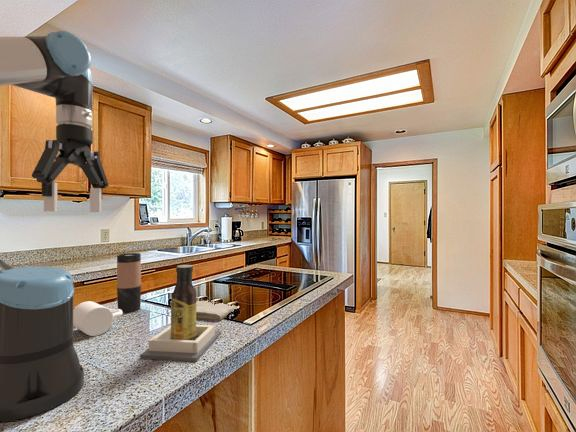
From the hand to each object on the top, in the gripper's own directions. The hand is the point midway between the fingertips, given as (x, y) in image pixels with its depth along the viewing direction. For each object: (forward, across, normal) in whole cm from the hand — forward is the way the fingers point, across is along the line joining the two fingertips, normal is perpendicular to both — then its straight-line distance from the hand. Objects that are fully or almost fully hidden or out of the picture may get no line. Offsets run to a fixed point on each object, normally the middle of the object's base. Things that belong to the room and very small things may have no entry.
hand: (75, 212), depth 75 cm
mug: (+35, +14, +5) cm, 38 cm away
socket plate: (+35, +6, -26) cm, 43 cm away
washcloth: (+36, +32, -21) cm, 52 cm away
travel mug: (+35, +32, +8) cm, 48 cm away
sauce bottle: (+34, +6, -26) cm, 43 cm away
